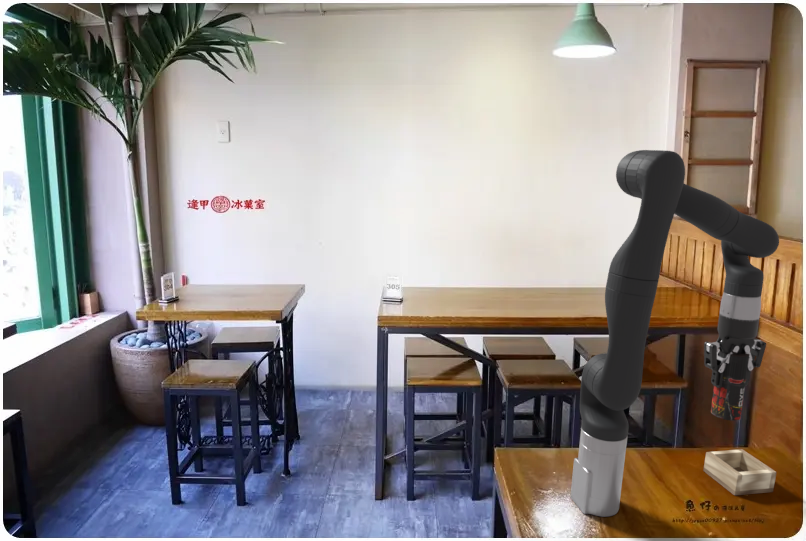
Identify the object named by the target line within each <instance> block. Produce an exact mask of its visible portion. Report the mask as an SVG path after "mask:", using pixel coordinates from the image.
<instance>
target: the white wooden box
mask: <svg viewBox="0 0 806 541" xmlns="http://www.w3.org/2000/svg"><path fill="white" fill-rule="evenodd" d="M702 471H703V472H705V474H707V475H708V476H709V477H710V478H712V479H713V480H714V481H716V482H717V483H718V484H719V485H721V486H722V487H723V488H724V489H726V490H727V491H728V492H729V493H731V494H732V495H734V496H743V495H744V496H745V495H752V494H753V495H754V494H763V493H764V494H765V493H774V488H775V482H776V477H777V471H775V470H774V469H773V468H771V467H770V466H769V465H767V464H765V463H763V462H762V461H760V459H758V458H756V457H755V456H753V455H752V454H751V453H748V452H747V451H746V450H744V449H742V448H740V449H729V450H717V451H706V452H705V458H704V465H703V470H702Z"/></svg>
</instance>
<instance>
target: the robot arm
mask: <svg viewBox="0 0 806 541" xmlns="http://www.w3.org/2000/svg"><path fill="white" fill-rule="evenodd" d="M615 177H616V182H617V185H618V187H619V188H620V189H621V191H622V192H623V193H624V194H627V195H628V196H630V197H633V198H638V199H640V200H641V202H640V208H639V212H638V216H637V220H636V221H635V222H636V223H635V225H634V227H633V229H632V231H631V232H630V234H629V235H628V237H626V239H625V240H624V242H623V243H622V244H621V246H620V247H618V249H617V252H616V253H615V255H614V256H613V258H612V259H611V262H610V266H609V269H608V274H607V279H606V285H605V291H604V292H605V293H604V304H605V305H604V306H605V313H606V314H605V315H606V319H607V328H608V346H607V351H606V353H604V352H602V353H598V354H596V355H594V356H591V358H589V359H588V361H587V362H586V364H585V365H584V367H583V370H582V372H581V373H582V374H581V382H580V393H579V394H580V395H579V397H580V398H579V413H580V417H581V427H580V435H579V436H580V437H579V446H578V455H577V456H578V457H575V458H573V468H572V474H571V476H572V477H571V489H570V495H569V496H570V498H571V500H572V501H573V503H574V504H575V505H576V506H577V507H578V509H579V510H580V511H581V513H582V514H585V515H586V514H587V515H588V514H589V515H592V516H597V517H603V518H604V517H607V518H608V517H612V516H615V515H616V514H617V513H618V512H619V509H620V504H621V502H620V501H621V494H622V484H623V477H624V467H625V460H626V450H627V444H628V435H629V427H630V425H629V421H628V418H627V417H626V414H625V411H624V410H626V409H628V408H630V407H631V406H632V405H633V404H634V403H635V402H636V400H637V399H638V398H639V397H638V396H639V395H640V392H641V389H642V383H643V382H642V380H643V372H644V370H643V369H644V361H645V360H644V359H645V351H646V350H645V349H646V343H647V337H648V334H649V333H648V332H649V328H650V327H649V326H650V323H651V316H652V310H653V307H654V303H655V298H656V295H657V291H658V290H657V289H658V285H659V281H660V280H659V279H660V274H661V268H662V263H663V258H664V255H665V254H664V253H665V250H666V246H667V245H666V244H667V241H668V236H669V232H670V229H671V226H672V222H673V219H674V216H675V215H676V216H678V217H679V218H681V219H682V220H684V221H686V222H688V223H689V224H691V225H692V226H694V227H695V228H697V229H699V230H700V231H702V232H704V233H705V234H707V235H708V236H710V237H712V238H713V239H716V240H719V241H720V247H721V254H722V259H723V265H724V267H723V268H724V271H725V278H724V279H725V280H724V285H723V286H724V287H723V293H722V296H721V300H720V307H719V315H718V321H717V332H718V338H717V339H716V341H713V342H710V341H705V342H704V344H703V356H704V357H703V358H704V359H703V360H704V364H703V365H704V366H705V368H708V369H710V370H711V378H710V381H711V384H712V386H713V387H714V386H715V387H717V388H721V387H722V382H723V375H724V373H723V371H724V369H725V367H726V364H729V359H730V355H735V354H743V353H744V354H750V355H749V362H748V369H747V376H746V383H745V387H746V386H748V384H749V383H750V378H751V372H752V371H753V369H754V368H758V369H759V368H760V367H761V365H762V362H763V358H764V355H765V350H766V348H767V342H766V341H763V340H761V339H758V338H756V337H757V336H758V331H759V323H760V316H761V310H762V293H763V292H762V291H763V288H764V287H763V284H764V278H765V277H764V276H765V275H764V271H763V270H761V269H760V268H758V267H756V266H754V265H752V263H751V262H750V258H758V259H763V258H767V257H770V256H771V255H773V254H774V253H775V252H776V251H777V249H778V248H779V245H780V238H779V234H778V231H777V230H776V229H775V228H774V227H773V226H772V225H770V224H769V223H767V222H765V221H762V220H760V219H758V218H756V217H753V216H751V215H747V214H745V213H743V212H741V211H739V210H738V209H736V208H735V207H733V206H732V205H731V204H729V203H728V202H726V201H724V200H723V199H721V198H720V197H718V196H716V195H713V194H712V193H709V192H706V191H704V190H701V189H699V188H696V187H694V186H690V185H689V184H686V183H685V178H686V165H685V162H684V158H682V156H681V155H680V154H679V153H677V152H675V151H673V150H663V149H662V150H658V149H657V150H656V149H655V150H654V149H641V150H634V151H631V152H629V153H627V154H626V155H625V156H623V157H622V158H621V159H620V161H619V162H618V164H617V167H616V172H615ZM749 257H750V258H749ZM719 351H720V352H722V353H724V354H728V355H727V356H726V358H721V357H719ZM719 360H720V361H721V364H720V365H719V366H718V364H719Z"/></svg>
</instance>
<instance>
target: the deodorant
mask: <svg viewBox="0 0 806 541" xmlns="http://www.w3.org/2000/svg"><path fill="white" fill-rule="evenodd" d="M727 355H728V354H724V353H722V352H720V351H719V357H721V358H726V356H727ZM749 355H750V354H744V353H743V354H735V355H730V359H729V364H726V367H725V369H724V371H723V373H724V375H723V382H722V387H721V388H717V387H715V386H713V391H712V392H713V393H712V399H711V406H710V407H711V408H710V413H711V414H712V415H713V416H715V417H716V418H718V419H721V420H725V421H731V422H732V421H740V420H741V418H742V417H741V416H742V411H743V404H744V396H745V390H746V386H745V383H746V376H747V369H748V362H749ZM720 364H721V361H720V360H719V364H718V366H719V365H720Z"/></svg>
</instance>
